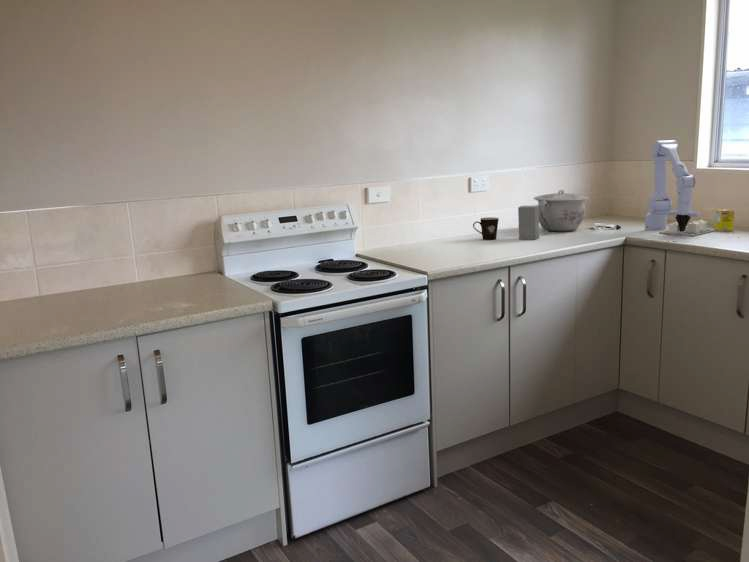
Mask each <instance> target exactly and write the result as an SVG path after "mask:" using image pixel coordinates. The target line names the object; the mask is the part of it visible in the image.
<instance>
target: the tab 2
mask: <svg viewBox="0 0 749 562" xmlns="http://www.w3.org/2000/svg"><path fill="white" fill-rule="evenodd" d="M696 223H700V231H706V229H708V228H707V227H708V225H707V224H708V221H704V219H699V220H697V222H696Z"/></svg>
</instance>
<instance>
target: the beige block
mask: <svg viewBox="0 0 749 562" xmlns="http://www.w3.org/2000/svg"><path fill="white" fill-rule="evenodd" d="M697 221H698V220H697ZM697 221H696V220H694V221H691V222H688V223H687V225H686V227H687V229H686V230H687V232H695V233H700V223H696V222H697Z"/></svg>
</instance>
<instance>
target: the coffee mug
mask: <svg viewBox="0 0 749 562" xmlns="http://www.w3.org/2000/svg"><path fill="white" fill-rule="evenodd" d="M499 219H500V218H499V217H493V216H491V217H489V216H488V217H487V216H486V217H481V218H480V221H474V222H473V223H472V224H473V225H472V227H473V229H474V230H475V231H476V232H478V233H480V234H481V236H482V240H483V241H495V240H497V234H498V226H499ZM477 223H478V224H479V225H480V228H481V231H480V230H478V229H477V228H476V226H475V225H476V224H477Z"/></svg>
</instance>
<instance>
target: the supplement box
mask: <svg viewBox="0 0 749 562" xmlns="http://www.w3.org/2000/svg"><path fill="white" fill-rule="evenodd" d="M734 219H735V210H731V209H715V217H714V230H717V231H718V232H730V231H731V232H732V231H733V230H734Z"/></svg>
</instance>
